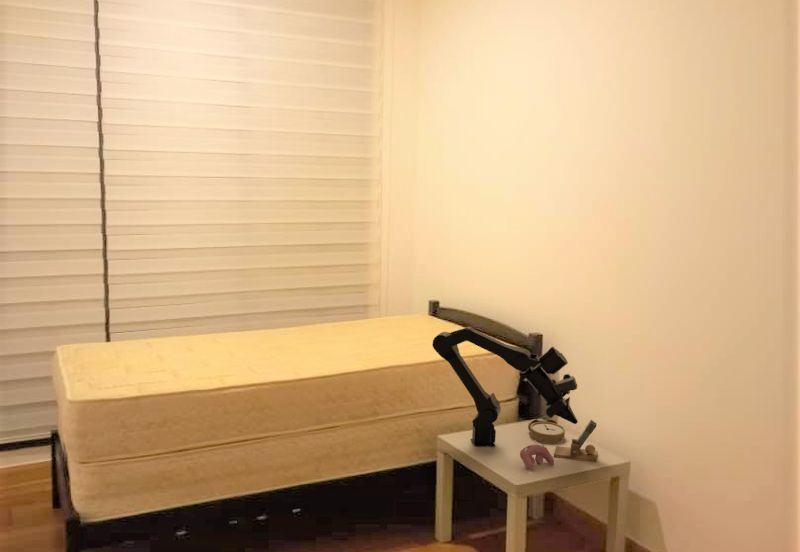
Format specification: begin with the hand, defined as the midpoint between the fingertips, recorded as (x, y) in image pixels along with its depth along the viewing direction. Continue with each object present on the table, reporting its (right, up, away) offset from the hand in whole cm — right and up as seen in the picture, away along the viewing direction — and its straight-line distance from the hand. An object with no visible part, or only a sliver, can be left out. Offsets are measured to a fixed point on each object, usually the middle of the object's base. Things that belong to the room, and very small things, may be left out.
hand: (576, 423), depth 228 cm
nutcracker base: (0, -10, +1) cm, 10 cm away
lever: (0, -8, +1) cm, 8 cm away
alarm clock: (-6, -8, +19) cm, 21 cm away
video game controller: (-14, -11, -8) cm, 20 cm away
